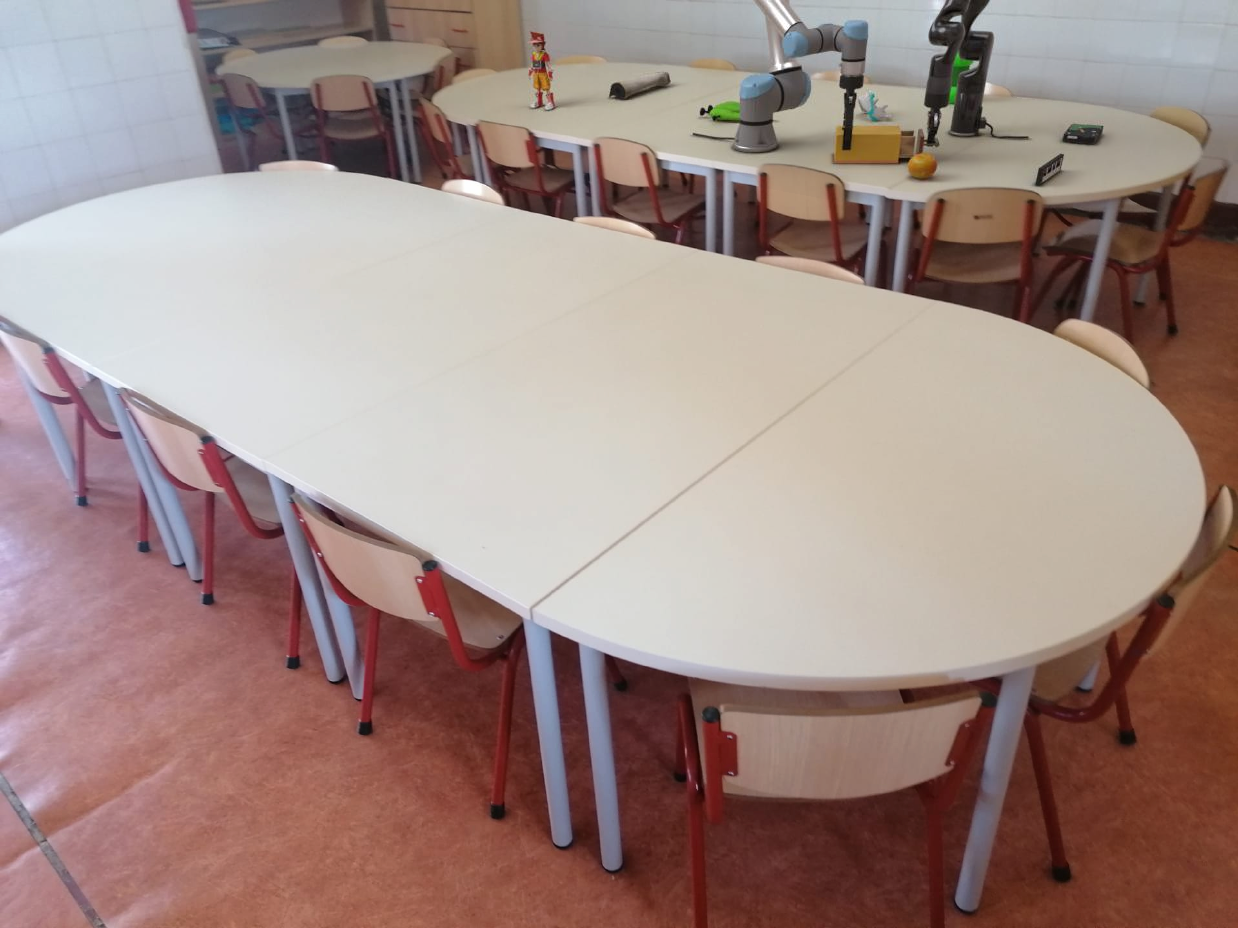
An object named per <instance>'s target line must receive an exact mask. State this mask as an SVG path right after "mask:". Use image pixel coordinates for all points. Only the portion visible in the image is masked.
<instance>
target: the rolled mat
mask: <svg viewBox="0 0 1238 928" xmlns="http://www.w3.org/2000/svg"><path fill="white" fill-rule="evenodd" d="M671 83H672V81H671V77H670V74H669V72H668V71H658V72H654V73H649V74H645V75H640V76H637V77H633V78H628V79H623V80H620V81H616V82H613V83H612V84H611V85H610V89H609V95H608V97H609V98H611V97H616V99H620V100H622V101H623V100H626V99H627V98H629V97H630V96H632V95H635V94H636V93H638V92H640V91H643V90H644V89H647V88H650V87H655V86H658V87H659V86H661V87H665V86H669V85H670V84H671Z"/></svg>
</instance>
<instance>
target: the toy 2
mask: <svg viewBox="0 0 1238 928" xmlns="http://www.w3.org/2000/svg"><path fill="white" fill-rule="evenodd" d="M705 114H709V116H710V117H711V119H712V121H717V120H719V121H739V114H740V102H737V101H733V100H729V101H725V102H721V103H719V104H716V105H715V106H713V105H712V104H709V105H708V107H707V110H706V108H705V107H701V108H700V110H699V116H701V117H703V116H705ZM775 121H777V120H776V119H773V122H775Z"/></svg>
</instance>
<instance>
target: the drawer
mask: <svg viewBox="0 0 1238 928" xmlns="http://www.w3.org/2000/svg"><path fill="white" fill-rule="evenodd" d="M917 130H918V131H917V136H916V135H915V130H912V129H911V130H910V129H909V130H907V129H906V130H905V129H904V130H900V131H901V142H900V150H899V159H911V158H912V157H913V156H914V153H915V155H917V154H921V153H924V147H927V146H933V147H935V148H939V147H940V146H941V144H940V141H939V139H938V138H937V137H935V141H934V143H927V139H925V134H924V130H923V128H918V129H917Z"/></svg>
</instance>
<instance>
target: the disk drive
mask: <svg viewBox="0 0 1238 928" xmlns="http://www.w3.org/2000/svg"><path fill="white" fill-rule="evenodd" d="M1104 127H1105V126H1104V125H1100V124H1099V125H1097V124H1081V123H1071V124H1070V126H1069V127H1068V128H1067V129H1066V130H1065V131H1064V133H1063V136H1062V139H1061V140H1062V141H1063V142H1068V143H1077V144H1090V145H1094V144H1096V143H1097V141H1098V140H1099V138H1100V136H1101V135H1102V134H1103V131H1104Z"/></svg>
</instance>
